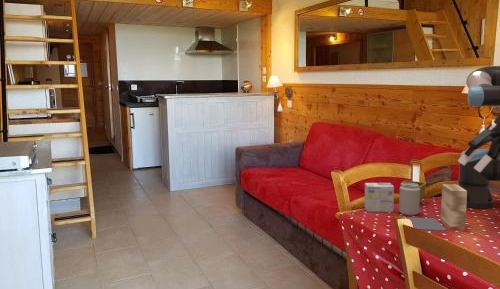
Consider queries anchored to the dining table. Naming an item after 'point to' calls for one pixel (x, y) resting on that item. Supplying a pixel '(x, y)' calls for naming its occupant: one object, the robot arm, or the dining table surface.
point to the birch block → (453, 206)
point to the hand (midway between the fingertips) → (469, 166)
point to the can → (409, 199)
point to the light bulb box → (379, 197)
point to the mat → (427, 224)
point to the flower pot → (421, 185)
